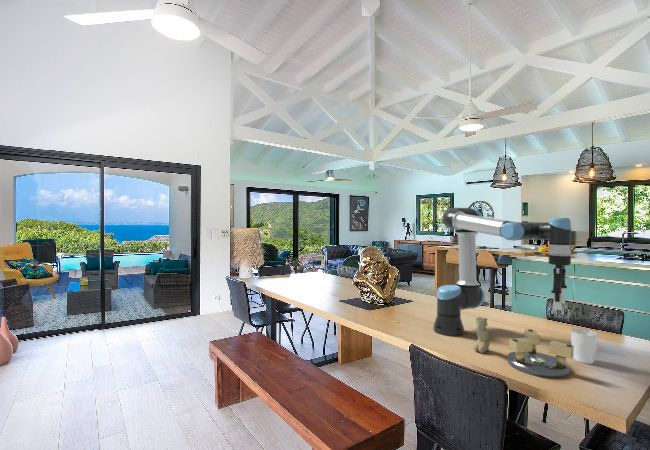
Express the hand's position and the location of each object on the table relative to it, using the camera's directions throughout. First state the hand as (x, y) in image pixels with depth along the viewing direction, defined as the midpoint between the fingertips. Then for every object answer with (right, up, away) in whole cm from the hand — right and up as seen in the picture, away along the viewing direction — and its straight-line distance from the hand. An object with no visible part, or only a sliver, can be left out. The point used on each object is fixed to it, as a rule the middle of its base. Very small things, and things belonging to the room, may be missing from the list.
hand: (559, 306), depth 141 cm
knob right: (-6, -21, -10) cm, 24 cm away
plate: (-12, -23, -5) cm, 26 cm away
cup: (+11, -23, +1) cm, 25 cm away
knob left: (-20, -20, -6) cm, 29 cm away
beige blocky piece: (-9, -20, +3) cm, 23 cm away
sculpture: (-27, -23, +11) cm, 37 cm away
